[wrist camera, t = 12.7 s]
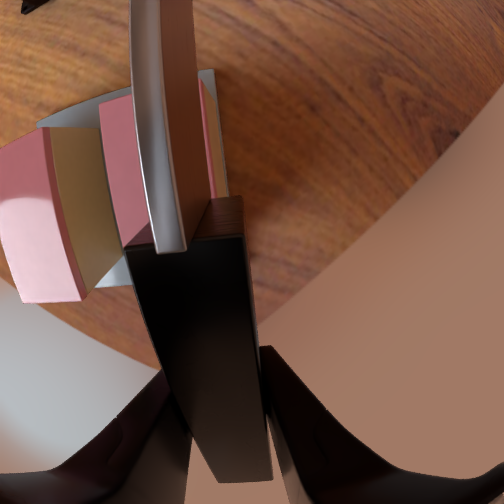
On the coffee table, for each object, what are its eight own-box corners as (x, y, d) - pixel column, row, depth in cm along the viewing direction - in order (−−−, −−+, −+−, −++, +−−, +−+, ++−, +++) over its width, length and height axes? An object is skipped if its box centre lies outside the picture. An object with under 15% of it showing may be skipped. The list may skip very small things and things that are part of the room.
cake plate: (44, 121, 14) (-23, 123, 8) (215, 72, 14) (199, 30, 8) (78, 283, 18) (31, 334, 12) (239, 267, 18) (239, 330, 12)
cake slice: (144, 115, 14) (97, 103, 8) (215, 101, 14) (201, 77, 8) (166, 250, 17) (136, 297, 11) (233, 242, 17) (230, 288, 11)
